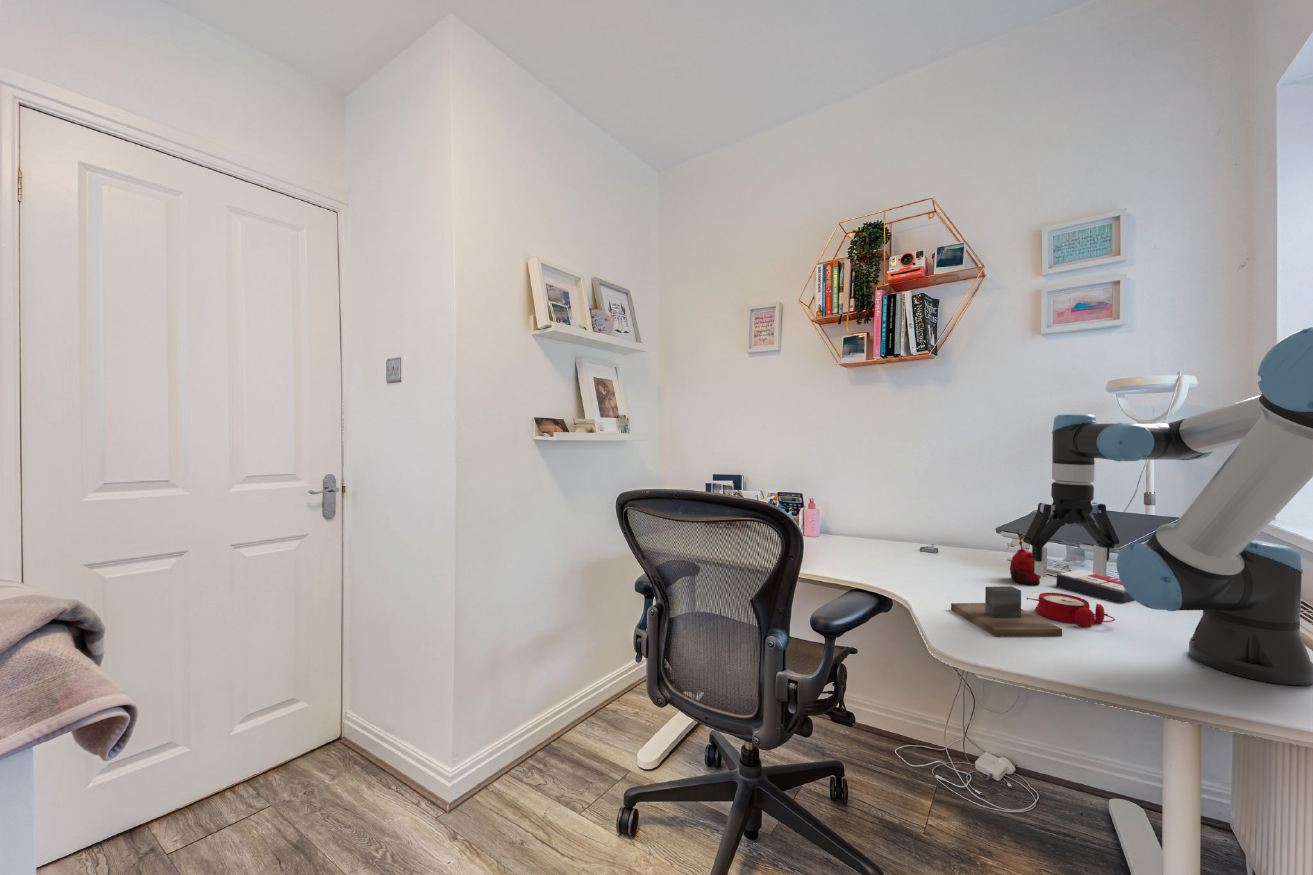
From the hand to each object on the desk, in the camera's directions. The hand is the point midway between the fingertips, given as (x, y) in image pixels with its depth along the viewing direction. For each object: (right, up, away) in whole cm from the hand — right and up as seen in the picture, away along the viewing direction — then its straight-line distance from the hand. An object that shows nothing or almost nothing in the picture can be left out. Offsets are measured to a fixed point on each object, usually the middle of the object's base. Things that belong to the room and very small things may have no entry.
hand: (1069, 575), depth 119 cm
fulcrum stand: (-17, -10, -2) cm, 20 cm away
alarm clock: (0, -10, 0) cm, 10 cm away
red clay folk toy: (+9, -9, +27) cm, 30 cm away
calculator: (+22, -10, +18) cm, 30 cm away
